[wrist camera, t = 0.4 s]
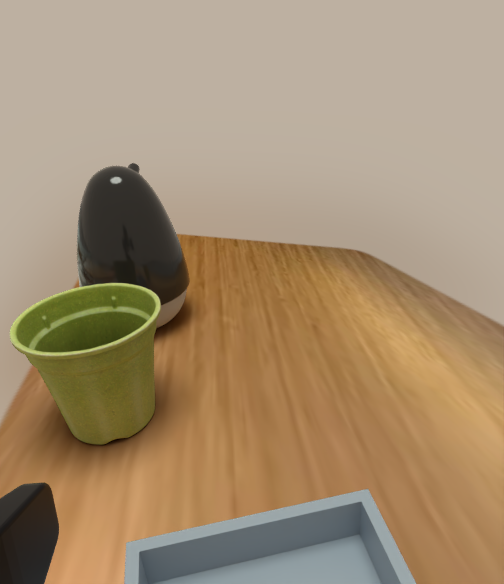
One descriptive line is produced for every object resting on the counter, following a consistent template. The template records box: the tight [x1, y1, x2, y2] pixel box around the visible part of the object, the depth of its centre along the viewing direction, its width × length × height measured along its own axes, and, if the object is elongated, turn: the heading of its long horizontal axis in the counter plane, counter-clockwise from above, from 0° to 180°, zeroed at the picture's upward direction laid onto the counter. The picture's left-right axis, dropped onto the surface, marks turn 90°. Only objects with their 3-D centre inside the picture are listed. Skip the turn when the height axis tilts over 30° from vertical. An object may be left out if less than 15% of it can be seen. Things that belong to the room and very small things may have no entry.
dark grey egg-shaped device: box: [77, 163, 189, 328], centre depth 43 cm, size 10×10×15 cm
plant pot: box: [10, 283, 161, 444], centre depth 32 cm, size 9×9×9 cm
